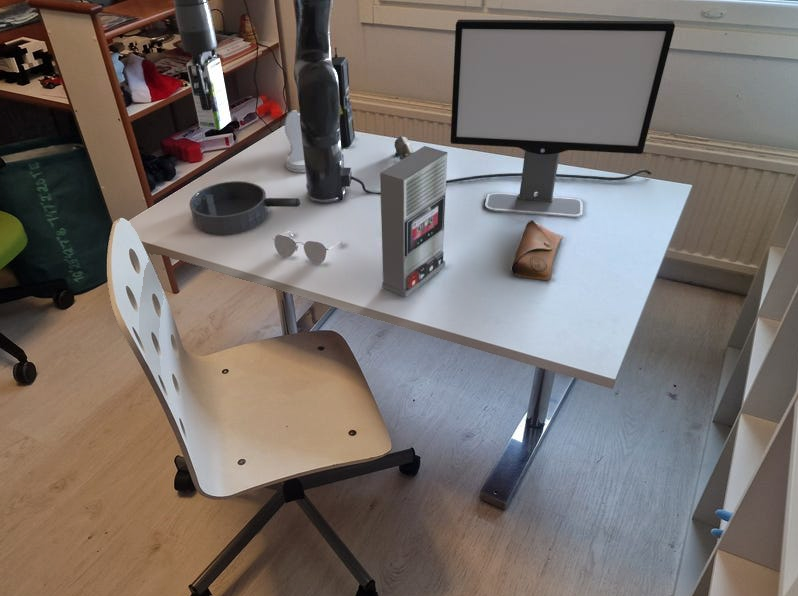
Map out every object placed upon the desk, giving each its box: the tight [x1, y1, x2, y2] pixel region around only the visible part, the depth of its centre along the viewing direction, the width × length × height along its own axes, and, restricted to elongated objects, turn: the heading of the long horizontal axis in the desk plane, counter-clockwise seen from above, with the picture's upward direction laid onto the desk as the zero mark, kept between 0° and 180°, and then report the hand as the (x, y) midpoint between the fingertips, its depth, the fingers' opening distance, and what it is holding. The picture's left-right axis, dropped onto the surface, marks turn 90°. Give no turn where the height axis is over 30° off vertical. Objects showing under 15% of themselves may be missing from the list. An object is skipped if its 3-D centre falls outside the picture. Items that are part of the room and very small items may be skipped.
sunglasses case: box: [510, 219, 564, 281], centre depth 134 cm, size 18×7×7 cm, turn 159°
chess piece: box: [284, 109, 306, 173], centre depth 170 cm, size 10×10×15 cm
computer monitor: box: [449, 19, 676, 218], centre depth 137 cm, size 41×8×40 cm, turn 74°
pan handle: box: [264, 197, 302, 208], centre depth 151 cm, size 9×2×2 cm, turn 83°
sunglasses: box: [272, 231, 344, 265], centre depth 140 cm, size 14×8×5 cm, turn 65°
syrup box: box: [185, 57, 232, 131], centre depth 146 cm, size 6×6×14 cm
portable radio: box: [331, 47, 356, 148], centre depth 176 cm, size 8×6×25 cm
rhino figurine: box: [394, 135, 414, 160], centre depth 170 cm, size 4×14×6 cm, turn 10°
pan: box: [189, 180, 269, 236], centre depth 154 cm, size 18×18×5 cm
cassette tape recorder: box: [379, 145, 448, 298], centre depth 123 cm, size 14×6×25 cm, turn 139°
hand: (211, 103), depth 147 cm, fingers closed on syrup box, 6 cm apart
